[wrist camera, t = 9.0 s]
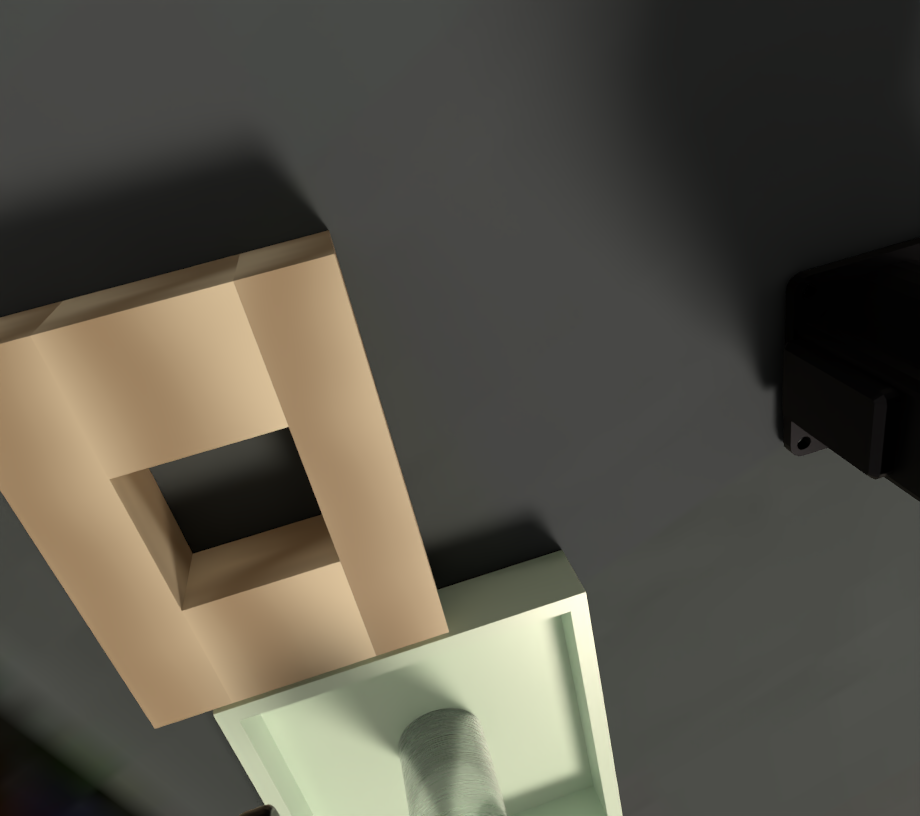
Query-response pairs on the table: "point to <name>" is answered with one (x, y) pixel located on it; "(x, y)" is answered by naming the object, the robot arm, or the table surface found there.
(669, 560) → the table surface
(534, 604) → the tray
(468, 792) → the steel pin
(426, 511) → the table surface
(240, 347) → the block
